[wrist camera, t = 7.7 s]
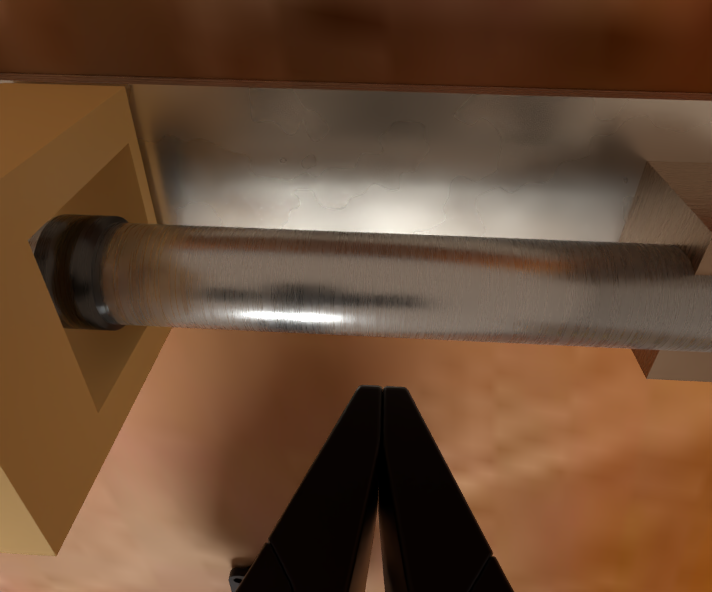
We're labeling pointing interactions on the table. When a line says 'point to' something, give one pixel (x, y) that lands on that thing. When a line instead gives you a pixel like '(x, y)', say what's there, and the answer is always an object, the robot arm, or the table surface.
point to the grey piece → (405, 216)
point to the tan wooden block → (38, 314)
